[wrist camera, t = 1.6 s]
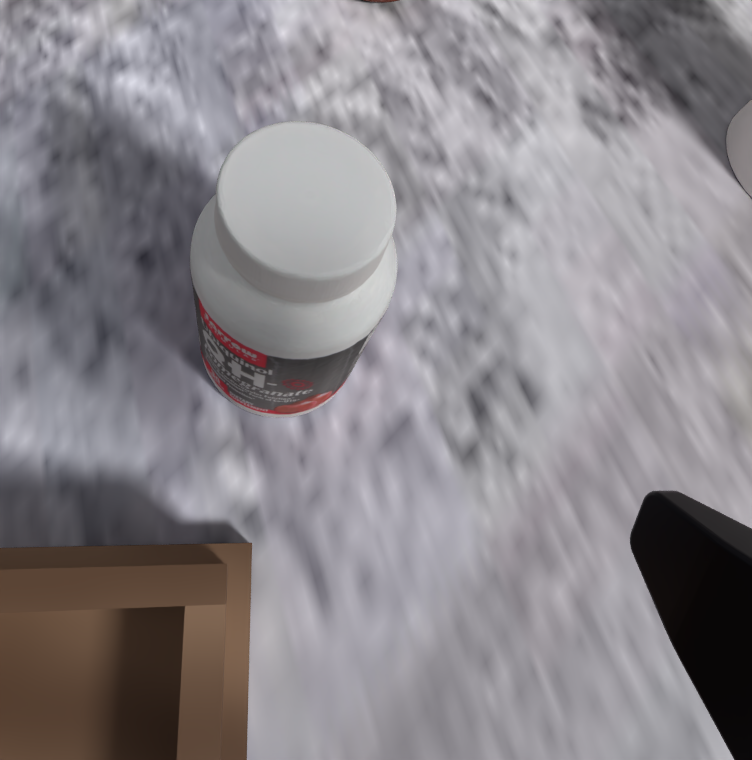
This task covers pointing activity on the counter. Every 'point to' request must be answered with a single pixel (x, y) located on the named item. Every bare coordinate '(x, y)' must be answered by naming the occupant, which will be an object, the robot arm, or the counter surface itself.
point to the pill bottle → (292, 266)
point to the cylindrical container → (741, 146)
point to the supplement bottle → (381, 0)
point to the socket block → (125, 652)
